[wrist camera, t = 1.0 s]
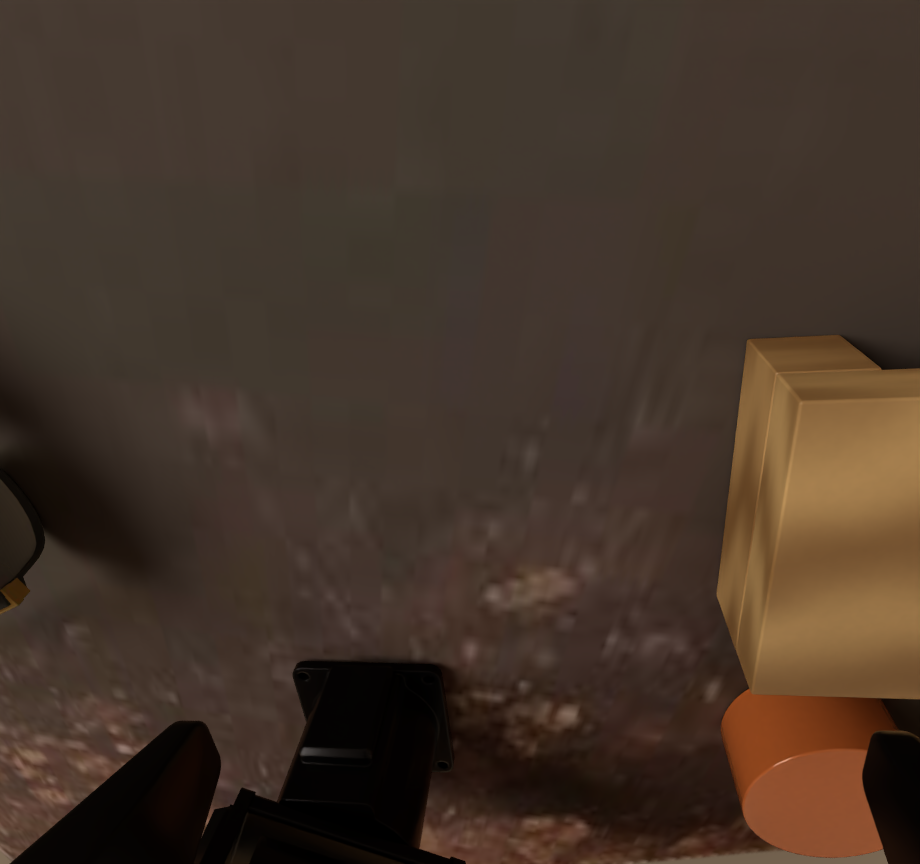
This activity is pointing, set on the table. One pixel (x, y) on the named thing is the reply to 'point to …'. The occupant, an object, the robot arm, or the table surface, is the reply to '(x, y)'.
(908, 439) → the maple stand
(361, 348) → the table surface
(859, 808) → the orange cylinder puck
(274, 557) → the table surface
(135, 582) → the table surface
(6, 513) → the sunglasses
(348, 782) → the robot arm
